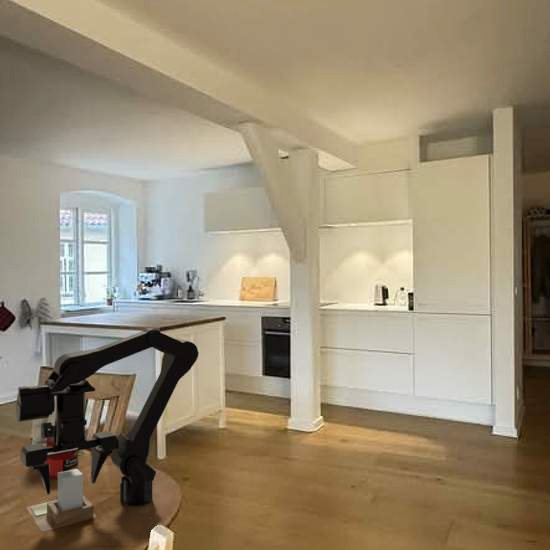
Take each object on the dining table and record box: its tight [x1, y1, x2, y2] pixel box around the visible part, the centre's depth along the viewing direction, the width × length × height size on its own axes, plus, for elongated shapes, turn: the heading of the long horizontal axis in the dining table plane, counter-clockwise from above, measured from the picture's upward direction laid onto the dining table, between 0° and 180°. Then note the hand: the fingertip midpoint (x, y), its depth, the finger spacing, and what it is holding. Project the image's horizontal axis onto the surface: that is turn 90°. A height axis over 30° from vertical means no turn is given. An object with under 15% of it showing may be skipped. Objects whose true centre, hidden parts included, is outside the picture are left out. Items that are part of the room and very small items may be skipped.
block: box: [57, 468, 84, 512], centre depth 112 cm, size 4×4×9 cm
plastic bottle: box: [31, 400, 56, 447], centre depth 151 cm, size 6×7×20 cm
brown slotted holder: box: [25, 494, 98, 533], centre depth 114 cm, size 14×11×4 cm
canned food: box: [46, 438, 79, 480], centre depth 139 cm, size 8×8×11 cm
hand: (71, 488), depth 112 cm, fingers open, 9 cm apart
